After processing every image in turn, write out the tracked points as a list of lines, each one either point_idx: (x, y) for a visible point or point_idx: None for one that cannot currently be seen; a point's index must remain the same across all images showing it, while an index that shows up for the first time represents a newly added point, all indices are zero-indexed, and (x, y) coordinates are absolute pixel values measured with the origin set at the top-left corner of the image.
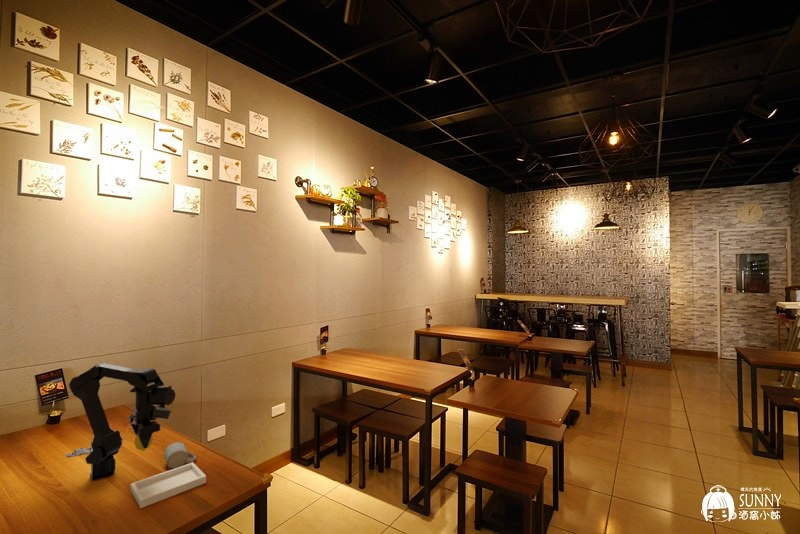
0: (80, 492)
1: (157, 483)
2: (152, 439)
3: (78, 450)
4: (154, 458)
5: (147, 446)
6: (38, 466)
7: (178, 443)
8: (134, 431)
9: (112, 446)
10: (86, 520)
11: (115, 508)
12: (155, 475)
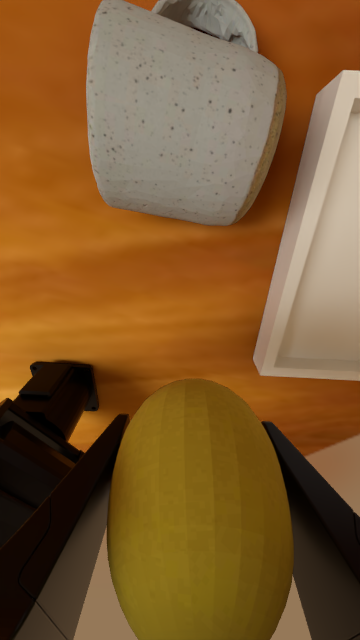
0: None
1: (311, 296)
2: (236, 416)
3: None
4: (26, 222)
5: (279, 430)
6: None
7: (124, 63)
8: (72, 637)
9: (39, 493)
10: (300, 442)
11: (313, 401)
12: (285, 301)
